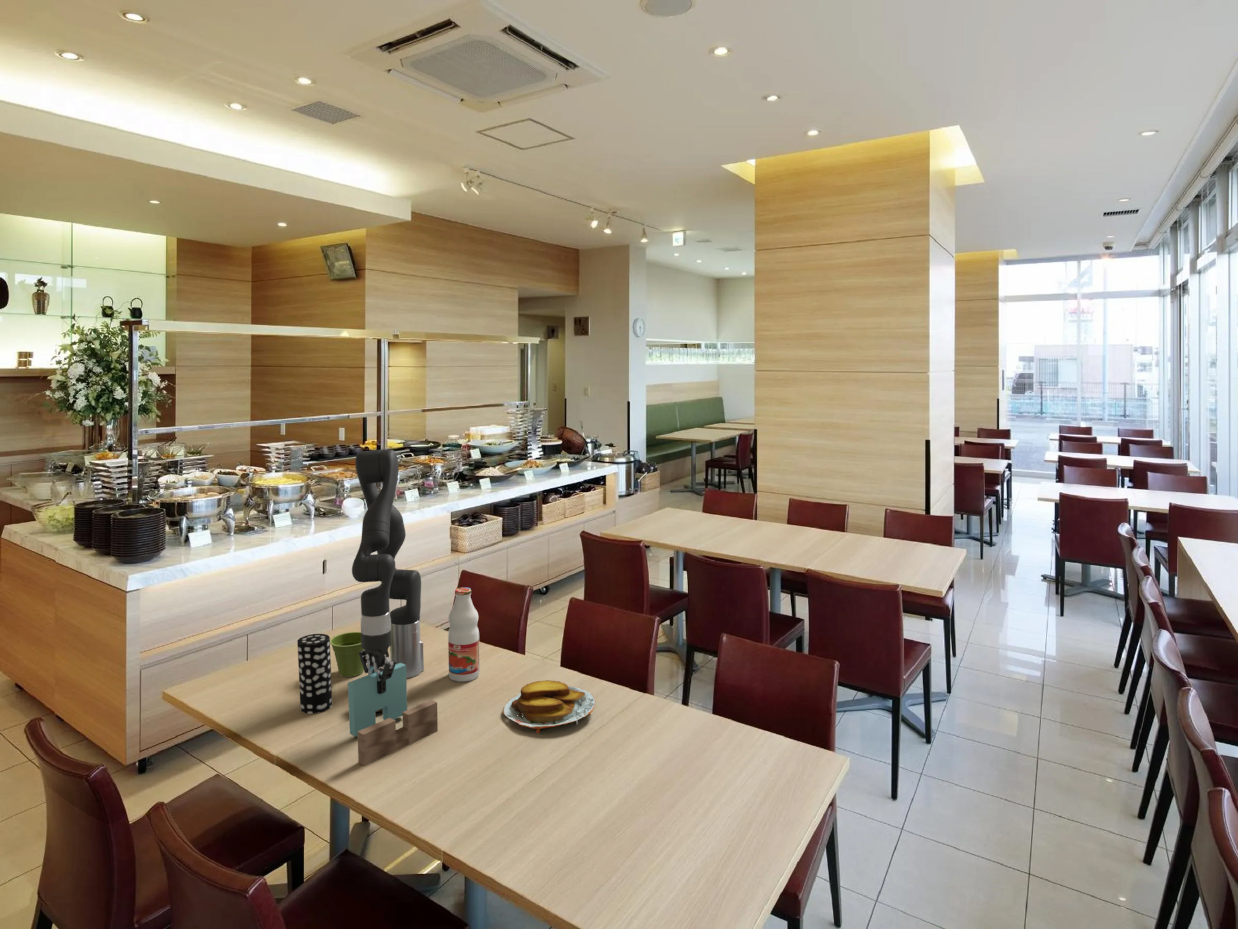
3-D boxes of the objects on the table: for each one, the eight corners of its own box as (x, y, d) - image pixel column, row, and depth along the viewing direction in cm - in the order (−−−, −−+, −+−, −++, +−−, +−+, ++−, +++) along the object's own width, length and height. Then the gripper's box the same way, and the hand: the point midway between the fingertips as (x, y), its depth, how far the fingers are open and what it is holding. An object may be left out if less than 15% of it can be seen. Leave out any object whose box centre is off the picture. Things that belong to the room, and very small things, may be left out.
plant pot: (332, 667, 231) (331, 633, 229) (371, 663, 234) (370, 630, 233) (329, 683, 220) (327, 647, 218) (370, 678, 223) (369, 643, 222)
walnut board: (432, 728, 193) (431, 699, 192) (437, 730, 192) (437, 702, 191) (358, 762, 176) (357, 731, 175) (364, 765, 175) (363, 734, 174)
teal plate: (349, 733, 187) (347, 682, 185) (402, 711, 200) (400, 662, 198) (355, 736, 186) (353, 685, 184) (407, 713, 198) (405, 665, 197)
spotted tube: (324, 714, 200) (322, 645, 197) (295, 713, 200) (291, 644, 198) (337, 700, 208) (334, 634, 206) (308, 700, 208) (305, 633, 206)
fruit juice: (485, 672, 229) (484, 587, 225) (469, 684, 220) (468, 595, 216) (459, 668, 232) (458, 583, 228) (442, 679, 223) (441, 592, 219)
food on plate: (548, 746, 186) (548, 721, 185) (484, 714, 202) (484, 692, 201) (614, 710, 205) (614, 688, 204) (551, 684, 222) (551, 663, 221)
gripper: (404, 631, 188) (406, 694, 190) (373, 619, 196) (375, 679, 199) (379, 639, 182) (381, 704, 185) (348, 626, 190) (350, 688, 193)
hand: (378, 691), depth 192 cm, fingers closed on teal plate, 2 cm apart
